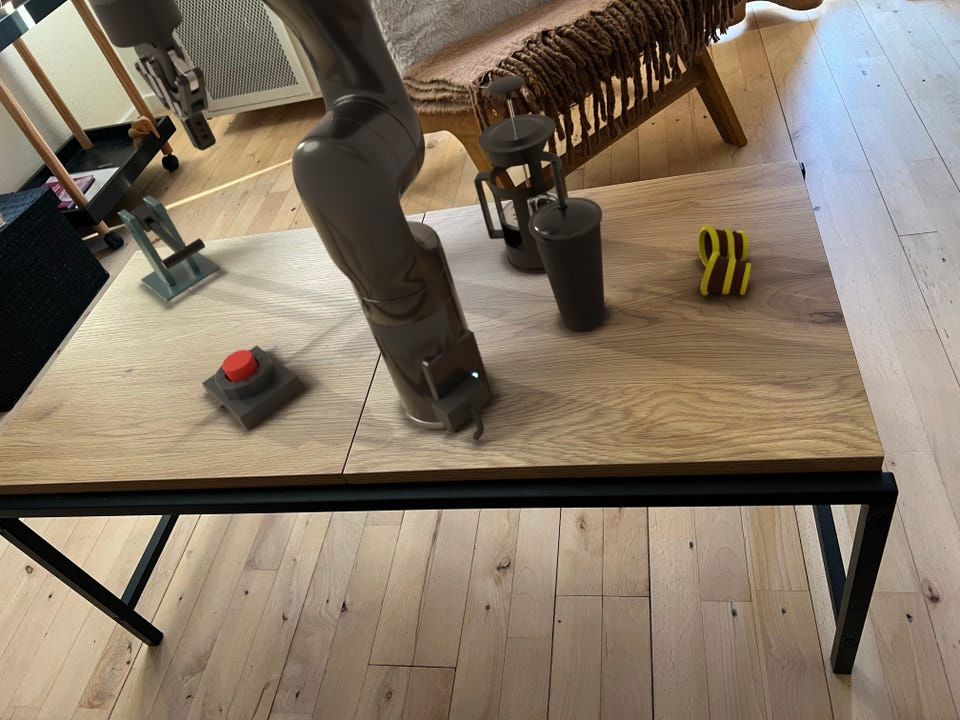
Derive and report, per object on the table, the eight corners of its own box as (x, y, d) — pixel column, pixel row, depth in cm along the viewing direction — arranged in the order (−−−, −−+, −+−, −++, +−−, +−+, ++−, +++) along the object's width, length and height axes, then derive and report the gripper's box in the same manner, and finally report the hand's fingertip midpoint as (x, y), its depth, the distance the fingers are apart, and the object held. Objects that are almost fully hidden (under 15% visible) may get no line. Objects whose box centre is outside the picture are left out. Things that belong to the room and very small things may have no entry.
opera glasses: (747, 307, 85) (756, 270, 82) (697, 303, 86) (704, 267, 82) (741, 255, 92) (749, 219, 89) (695, 252, 93) (701, 216, 89)
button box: (304, 389, 91) (291, 364, 89) (247, 431, 88) (232, 406, 86) (263, 358, 98) (250, 334, 95) (209, 395, 95) (194, 372, 92)
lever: (207, 251, 108) (202, 239, 106) (170, 274, 106) (163, 262, 104) (162, 209, 113) (156, 196, 111) (125, 230, 111) (118, 218, 109)
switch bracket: (222, 273, 116) (181, 199, 108) (170, 306, 113) (123, 233, 104) (194, 254, 123) (153, 183, 115) (144, 285, 119) (98, 214, 111)
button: (263, 367, 90) (257, 356, 89) (237, 386, 89) (230, 375, 88) (248, 356, 93) (242, 345, 92) (223, 374, 91) (216, 363, 90)
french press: (589, 228, 102) (559, 56, 87) (578, 272, 96) (544, 94, 81) (503, 233, 106) (461, 70, 91) (487, 276, 100) (439, 107, 85)
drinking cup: (584, 349, 85) (552, 191, 72) (537, 323, 90) (500, 171, 77) (632, 312, 88) (609, 153, 75) (584, 289, 93) (555, 136, 80)
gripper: (68, -4, 79) (154, 150, 90) (114, 5, 70) (203, 175, 81) (134, -32, 82) (209, 121, 93) (186, -26, 73) (262, 141, 84)
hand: (206, 146), depth 87 cm, fingers closed
